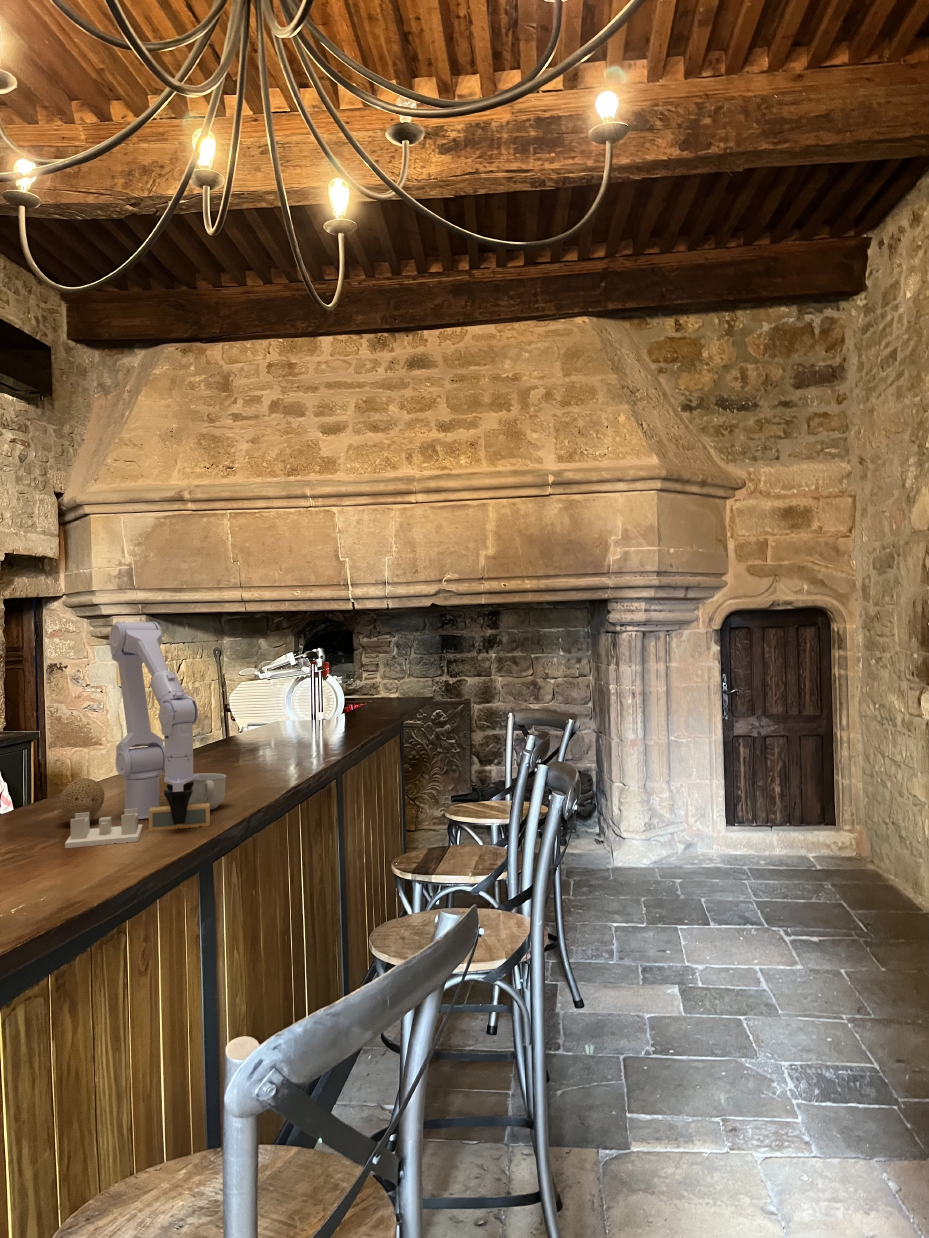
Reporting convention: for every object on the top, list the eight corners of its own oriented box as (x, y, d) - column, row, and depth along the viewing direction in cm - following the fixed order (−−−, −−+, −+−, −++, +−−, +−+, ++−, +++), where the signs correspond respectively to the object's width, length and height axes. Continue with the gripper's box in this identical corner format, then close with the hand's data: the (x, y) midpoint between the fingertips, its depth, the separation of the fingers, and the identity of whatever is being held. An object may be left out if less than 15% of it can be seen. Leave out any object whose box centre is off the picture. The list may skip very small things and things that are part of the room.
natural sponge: (101, 826, 171) (101, 779, 171) (55, 830, 168) (55, 783, 169) (107, 817, 180) (106, 773, 180) (63, 821, 177) (62, 776, 177)
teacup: (177, 806, 190) (177, 773, 190) (225, 802, 194) (224, 769, 194) (178, 819, 177) (178, 782, 177) (229, 814, 181) (229, 778, 181)
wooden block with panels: (150, 828, 170) (150, 807, 170) (209, 823, 173) (209, 802, 173) (149, 832, 166) (148, 810, 166) (209, 826, 170) (209, 806, 170)
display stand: (74, 835, 164) (74, 811, 164) (142, 829, 168) (142, 805, 168) (65, 848, 154) (64, 822, 154) (137, 841, 158) (137, 816, 158)
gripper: (198, 759, 164) (199, 825, 164) (199, 750, 178) (200, 811, 178) (161, 761, 162) (162, 828, 162) (165, 752, 176) (166, 814, 175)
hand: (179, 820), depth 169 cm, fingers open, 7 cm apart
